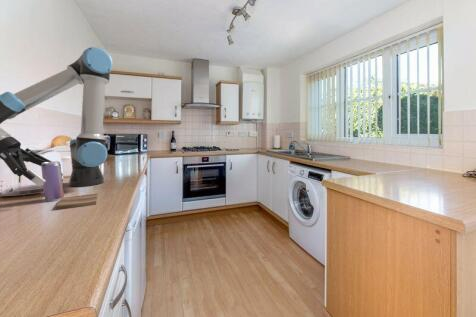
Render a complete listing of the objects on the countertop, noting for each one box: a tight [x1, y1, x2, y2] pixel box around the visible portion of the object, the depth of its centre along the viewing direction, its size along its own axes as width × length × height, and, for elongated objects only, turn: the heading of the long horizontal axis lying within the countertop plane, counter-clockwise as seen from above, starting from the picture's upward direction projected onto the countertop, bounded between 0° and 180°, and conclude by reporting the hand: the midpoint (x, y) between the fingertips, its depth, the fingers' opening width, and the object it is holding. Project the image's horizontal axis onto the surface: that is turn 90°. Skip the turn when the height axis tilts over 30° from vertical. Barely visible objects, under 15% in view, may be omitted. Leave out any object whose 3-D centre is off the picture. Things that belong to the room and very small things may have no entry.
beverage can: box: [40, 161, 65, 202], centre depth 92 cm, size 6×6×15 cm
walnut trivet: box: [55, 193, 99, 211], centre depth 88 cm, size 12×12×1 cm
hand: (52, 180), depth 92 cm, fingers open, 13 cm apart
